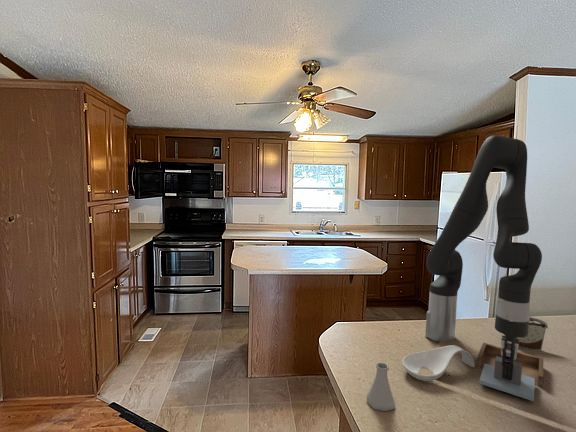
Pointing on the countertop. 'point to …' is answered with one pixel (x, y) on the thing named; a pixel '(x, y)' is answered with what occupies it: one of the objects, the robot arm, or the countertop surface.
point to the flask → (381, 390)
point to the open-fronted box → (530, 363)
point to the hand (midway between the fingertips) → (507, 375)
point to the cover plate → (506, 385)
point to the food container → (534, 334)
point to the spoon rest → (434, 361)
